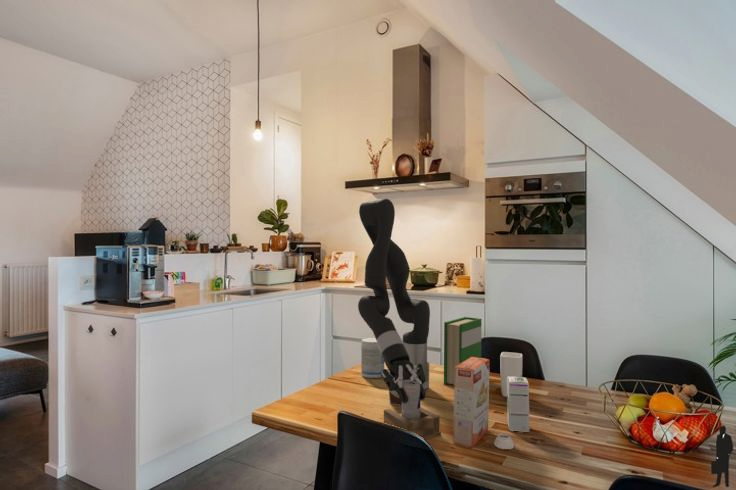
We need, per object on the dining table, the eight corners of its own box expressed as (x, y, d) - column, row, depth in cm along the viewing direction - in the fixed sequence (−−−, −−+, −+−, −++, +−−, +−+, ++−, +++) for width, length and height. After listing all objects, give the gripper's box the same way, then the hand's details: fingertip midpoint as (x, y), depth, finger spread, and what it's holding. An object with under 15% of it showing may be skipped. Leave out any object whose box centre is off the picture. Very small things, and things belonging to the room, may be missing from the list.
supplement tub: (386, 378, 179) (387, 341, 179) (363, 379, 177) (364, 342, 177) (381, 371, 188) (381, 337, 188) (359, 372, 186) (359, 337, 186)
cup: (499, 398, 157) (499, 356, 157) (501, 391, 163) (501, 351, 163) (521, 401, 154) (521, 358, 154) (522, 394, 161) (522, 353, 161)
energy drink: (421, 422, 129) (422, 381, 129) (417, 430, 124) (418, 387, 124) (404, 420, 131) (404, 379, 131) (399, 427, 126) (399, 385, 126)
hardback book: (461, 388, 167) (461, 324, 167) (443, 384, 172) (444, 322, 172) (480, 377, 181) (481, 318, 181) (464, 374, 186) (464, 316, 186)
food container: (426, 403, 151) (426, 373, 151) (420, 409, 146) (420, 378, 146) (392, 397, 156) (392, 369, 156) (385, 403, 151) (386, 373, 151)
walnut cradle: (415, 420, 136) (416, 403, 136) (440, 435, 125) (440, 416, 125) (382, 428, 130) (382, 410, 130) (405, 444, 119) (405, 424, 119)
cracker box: (474, 449, 117) (474, 369, 117) (452, 443, 120) (453, 366, 120) (490, 430, 129) (490, 358, 129) (469, 426, 132) (470, 355, 132)
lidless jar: (490, 444, 120) (502, 452, 116) (490, 433, 120) (502, 441, 116) (504, 441, 122) (517, 449, 118) (505, 430, 122) (517, 437, 118)
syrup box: (529, 433, 127) (530, 382, 127) (508, 431, 128) (508, 381, 128) (526, 425, 133) (527, 376, 133) (506, 423, 134) (506, 375, 134)
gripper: (376, 344, 131) (398, 398, 120) (416, 340, 138) (440, 390, 127) (367, 358, 135) (388, 411, 125) (406, 353, 142) (429, 402, 132)
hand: (414, 400), depth 126 cm, fingers closed on energy drink, 5 cm apart
